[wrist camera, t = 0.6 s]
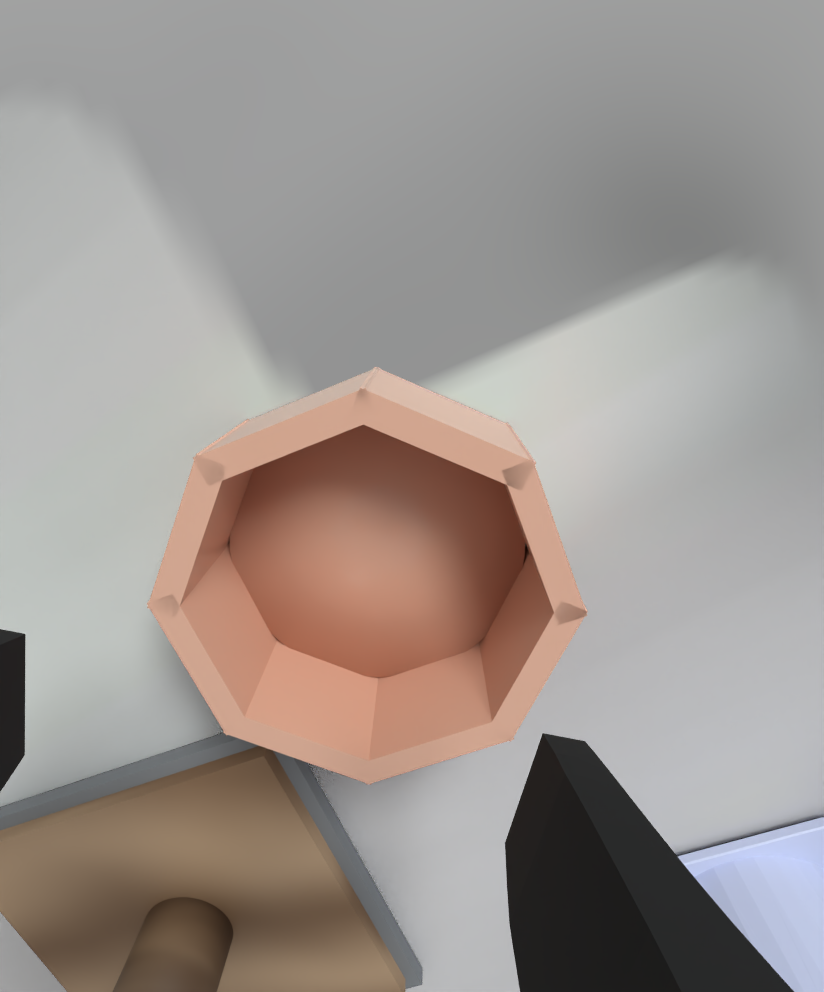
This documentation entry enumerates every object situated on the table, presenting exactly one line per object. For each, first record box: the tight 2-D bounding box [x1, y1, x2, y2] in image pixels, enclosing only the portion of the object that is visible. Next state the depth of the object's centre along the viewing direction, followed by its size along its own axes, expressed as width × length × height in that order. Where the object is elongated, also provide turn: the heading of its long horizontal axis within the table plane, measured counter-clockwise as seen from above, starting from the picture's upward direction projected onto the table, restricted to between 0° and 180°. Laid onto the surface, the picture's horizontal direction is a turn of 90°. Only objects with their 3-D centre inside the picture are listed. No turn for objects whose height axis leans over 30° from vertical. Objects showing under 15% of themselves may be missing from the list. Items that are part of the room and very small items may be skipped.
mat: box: [0, 733, 422, 989], centre depth 22 cm, size 13×13×1 cm
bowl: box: [147, 367, 588, 785], centre depth 16 cm, size 10×10×4 cm
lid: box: [0, 746, 406, 992], centre depth 20 cm, size 12×12×4 cm
